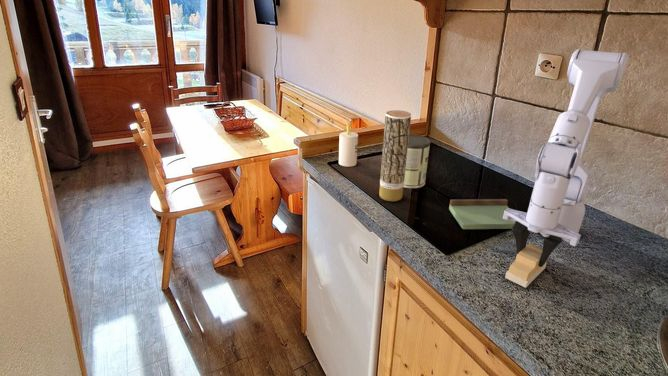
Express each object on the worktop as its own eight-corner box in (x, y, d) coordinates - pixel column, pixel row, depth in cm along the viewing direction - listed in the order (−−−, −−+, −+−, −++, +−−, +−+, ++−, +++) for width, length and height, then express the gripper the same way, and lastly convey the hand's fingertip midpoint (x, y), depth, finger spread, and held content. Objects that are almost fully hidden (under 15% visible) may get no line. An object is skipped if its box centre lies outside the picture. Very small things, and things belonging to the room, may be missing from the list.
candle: (351, 168, 138) (353, 125, 132) (335, 164, 141) (336, 122, 135) (360, 162, 143) (362, 121, 137) (344, 158, 146) (345, 118, 140)
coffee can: (392, 174, 134) (395, 133, 128) (423, 176, 133) (428, 135, 127) (393, 187, 125) (397, 144, 119) (426, 189, 124) (432, 146, 118)
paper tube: (403, 202, 115) (413, 117, 105) (379, 202, 115) (387, 116, 105) (400, 192, 122) (409, 110, 111) (377, 191, 122) (384, 110, 111)
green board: (504, 208, 114) (506, 199, 113) (523, 228, 104) (525, 218, 103) (448, 209, 113) (450, 199, 111) (462, 229, 103) (464, 219, 102)
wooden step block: (525, 259, 91) (530, 241, 89) (545, 268, 88) (550, 250, 86) (504, 277, 85) (509, 259, 83) (525, 288, 82) (531, 269, 80)
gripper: (501, 196, 82) (489, 252, 88) (579, 223, 73) (559, 284, 79) (516, 186, 87) (504, 240, 92) (591, 211, 77) (572, 269, 83)
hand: (530, 259), depth 86 cm, fingers closed on wooden step block, 4 cm apart
